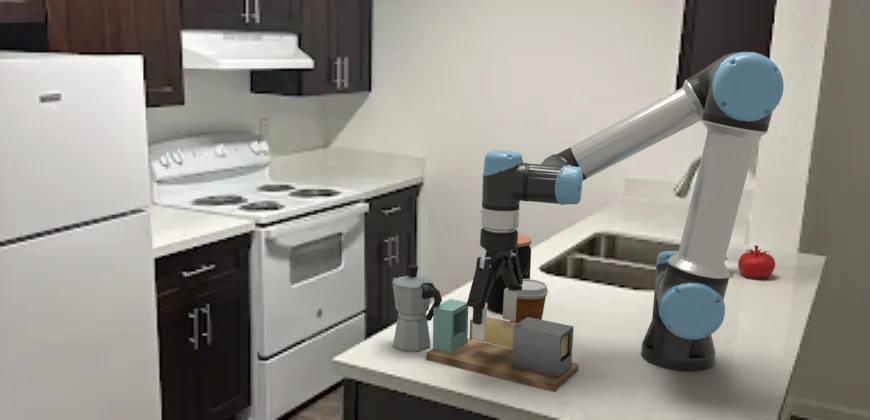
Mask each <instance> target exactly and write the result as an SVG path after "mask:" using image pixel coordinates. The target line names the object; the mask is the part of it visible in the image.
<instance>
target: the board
mask: <svg viewBox="0 0 870 420" xmlns="http://www.w3.org/2000/svg"><path fill="white" fill-rule="evenodd" d="M512 352H513V349H512V348H508V347H503V346H499V345H495V344H490V343H486V342H482V341H477V340H473V339H470V338H468V341H467V344H465V345H464V346H462V347H461V348H459V349H457V350H456V351H454V352H452V353H448V352H444V351H439V350H435V349H433V348H432V349H429V350H428V351H427V352H426V356H425V357H426V358H425V359H426V360H428V361H432V362H434V363H435V362H436V363H440V364H444V365H448V366H452V367H454V368H455V367H456V368H460V369H463V370H467V371H472V372H476V373H479V374H483V375H487V376H491V377H495V378H498V379H503V380H507V381H510V382H515V383H518V384H522V385H527V386H530V387H535V388H539V389H542V390H546V391H550V392H554V393H555V392H556V391H557V390H558V389H560V388H561V387H562V386H563V385H564V384H566V382H568V381H569V380H570V379H571V378H572V377H574V375H576V373H577V372H579V363H576V362H572V364H571V369H569V370H568V371H567V372H566V373H565V374H564V375H562V376H561V377H560V378H559V379H556V378H552V377H548V376H544V375H539V374H535V373H531V372H527V371H523V370H519V369H515V368H512Z"/></svg>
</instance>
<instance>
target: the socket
mask: <svg viewBox="0 0 870 420" xmlns="http://www.w3.org/2000/svg"><path fill="white" fill-rule="evenodd" d="M432 321H433V322H432V349H435V350H439V351H444V352H448V353H452V352H454V351H456V350H457V349H459V348H461V347H462V346H464V345H465V344H467V341H468V339H469V337H468V335H469V334H468V333H469V306H467V301H463V300H458V299H453V298H450V299H448V300H445V301H443V302H441V303H440V305H439V306H437V307H434V308H433V317H432Z"/></svg>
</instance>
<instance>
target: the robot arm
mask: <svg viewBox="0 0 870 420" xmlns="http://www.w3.org/2000/svg"><path fill="white" fill-rule="evenodd" d="M784 86H785V84H784V78H783V75H782V72H781V70H780V69H779V68H778V66H777V65H776V64H775V62H774V61H772V60H771V59H770V58H769V57H767V56H766V55H764V54H762V53H758V52H754V51H751V52H750V51H737V52H736V51H735V52H730V53H728V54H727V53H726V54H724V55H722V56H721V57H719V58H718V59H717V60H715V61H714V62H712V63H711V64H709V65H708V66H707V67H706V68H704V69H702V70H701V71H699V72H697V73H696V74H694V75H693V76H691V77H689V78H687V79H685V80H684V82H683V85H682V87H680V88H679V89H677V90H675V91H673V92H671V93H669V94H667V95H666V96H663V97H662V98H660V99H658V100H656V101H655V102H654V101H653V103H651V104H648V105H646V106H645V107H643V108H641V109H639V110H638V111H636V112H633V113H632V114H630V115H628V116H626V117H624V118H622V119H621V120H618V121H617V122H615V123H613V124H610V125H609V126H607V127H605V128H603V129H601V130H599V131H597V132H596V133H594V134H592V135H590V136H588V137H586V138H584V139H583V140H581V141H579V142H577V143H575V144H573V145H571V146H570V147H568V148H566V149H564V150H562V151H560V152H558V153H554V154H551V155H549V156H547V157H546V158H545V159H544V160H543V161H542V162H541V163H540V164H539V163H528V162H524V160H523V155H522V153H520V152H519V151H513V150H491V151H489V152H488V153H486V154H485V156H484V161H483V162H484V163H483V172H482V193H481V195H482V196H481V198H482V199H481V200H482V201H481V209H480V214H481V219H480V222H481V223H480V224H481V225H480V226H481V229H480V234H479V235H480V239H479V245H480V247H481V248H483V249H484V250H485V256H484V257H482V256H478V257H477V259H476V267H475V271H474V276H473V278H472V279H473V280H472V282H471V287H470V290H469V294H468V298H467V301H466V302H467V306H468V308H469V307H470V308H472V319H473V321H472V338H476V339H480V340H485V339H486V319H487V317H488V316H487V315H488V314H487V313H488V308H487V307H486V305H487V299H488V297H489V294H490V292H491V289H492V286H493V284H494V281H495V280H496V279H498V277H499V275H500V274H501V276H502V278H503V280H504V283H505V285H506V287H507V288H508V289H505V290H504V302H503V313H502V320H505V321H516V304H517V290H519V291H521V290H522V286H521V285H522V284H523V279H522V274H521V268H520V263H519V258H518V246H517V243H518V234H519V231H518V230H517V229H518V228H519V225H520V203H521V202H532V203H545V204H555V205H561V206H565V205H578V204H580V202H581V200H582V194H583V193H582V190H583V181H585V180H587V179H589V178H590V177H592V176H595V175H596V174H598V173H601V172H603V171H604V170H606V169H608V168H610V167H612V166H614V165H616V164H618V163H620V162H621V161H624V160H626V159H628V158H630V157H632V156H634V155H636V154H638V153H641V151H644V150H645V149H647V148H650V147H652V146H653V145H656V144H658V143H660V142H661V141H664V140H665V139H667V138H670V137H671V136H673V135H676V134H677V133H679V132H681V131H683V130H685V129H687V128H689V127H691V126H693V125H694V124H697V123H699V122H702V123H703V125H704V127H705V128H706V130H707V133H706V137H705V140H704V146H703V149H702V153H701V158H700V162H699V164H698V165H699V166H698V171H697V174H696V178H695V183H694V187H693V191H692V194H691V200H690V203H689V207H688V212H687V215H686V220H685V223H684V227H683V232H682V235H681V239H680V240H681V241H680V245H679V248H678V250H667V251H661V252H659V253H658V255H657V257H656V263H655V280H654V293H653V294H654V295H653V302H652V303H653V305H652V317H651V321H650V323H649V326H648V328H647V331H646V333H645V335H644V337H643V339H642V343H641V351H640V353H641V357H642V358H644V360H646V361H648V362H650V363H651V364H653V365H656V366H659V367H662V368H666V369H672V370H677V371H701V370H706V369H708V368H709V369H710V367H713V366H714V365H715V363H716V348H715V345H714V344H715V343H714V340H713V336H712V335H713V334H714V333H716V332H717V331H718V330H719V329H720V327H721V326H722V324H723V322H724V319H725V316H726V315H725V314H726V311H725V310H726V305H725V301H724V299H725V296H726V293H727V288H728V284H729V280H730V276H731V273H730V271H729V269H728V268H727V266H726V264H725V262H726V258H727V254H728V251H729V246H730V242H731V238H732V235H733V231H734V228H735V227H734V226H735V223H736V219H737V216H738V213H739V212H738V211H739V208H740V204H741V201H742V200H741V199H742V195H743V193H744V189H745V185H746V182H747V181H746V180H747V177H748V172H749V169H750V166H751V161H752V157H753V153H754V149H755V147H756V146H755V145H756V142H757V140H758V139H760V138H761V137H763V136H764V135H766V134H768V131H769V128H770V127H769V126H770V123H771V119H772V116H773V112H774V111H775V110H776V108H777V107H778V105H779V104H780V101H781V99H782V97H783V94H784ZM516 277H517V278H518V279H516Z"/></svg>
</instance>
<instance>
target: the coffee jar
mask: <svg viewBox="0 0 870 420" xmlns="http://www.w3.org/2000/svg"><path fill="white" fill-rule="evenodd" d="M531 244H532V238H531V237H530V236H528V235H523V234H519V233H518V243H517V246H518V258H519V263H520V268H521V274H522V279H531V264H532V263H531V262H532V248H531V246H530V245H531ZM516 279H518V278H517V277H516ZM506 288H507V287H506V285H505V283H504V280H503V278H502V276H501V274H500V275H499V277H498V279H496V280H495V281H494V284H493V286H492V289H491V292H490V294H489V297H488V299H487V302H486V305H487V306H488V309H489V310H491V312H494V313H498V314H503V302H504V290H505V289H506Z"/></svg>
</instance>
